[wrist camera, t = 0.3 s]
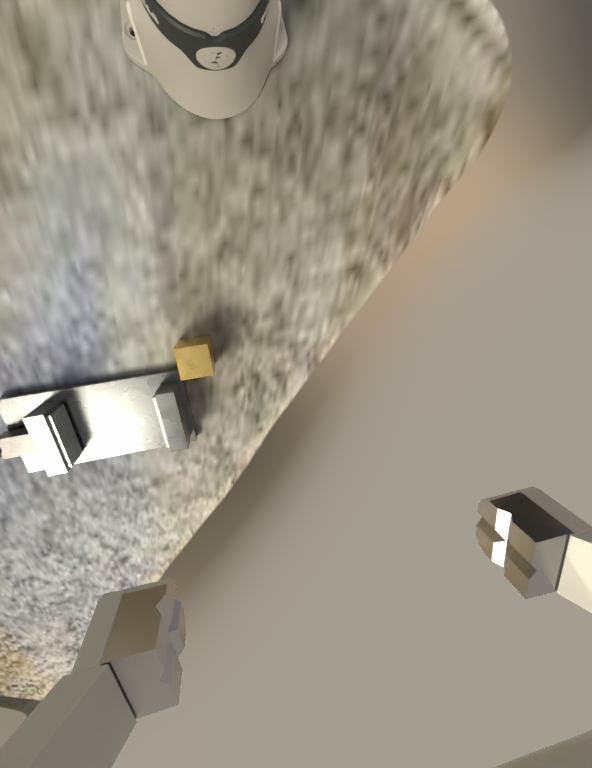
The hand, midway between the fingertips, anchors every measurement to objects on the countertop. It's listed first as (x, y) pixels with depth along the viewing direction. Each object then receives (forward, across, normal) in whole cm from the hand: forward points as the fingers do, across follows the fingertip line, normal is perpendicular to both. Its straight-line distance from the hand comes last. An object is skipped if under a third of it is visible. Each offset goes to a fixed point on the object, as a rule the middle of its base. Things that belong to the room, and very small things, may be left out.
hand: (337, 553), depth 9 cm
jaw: (+44, +33, +13) cm, 57 cm away
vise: (+46, +24, +13) cm, 53 cm away
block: (+46, +8, +5) cm, 47 cm away
